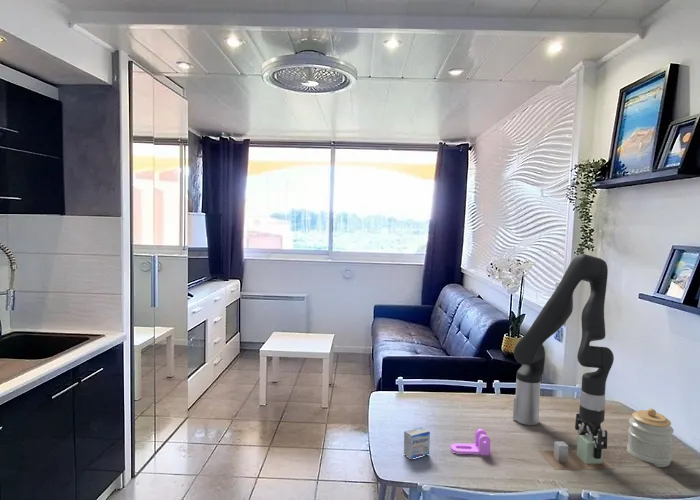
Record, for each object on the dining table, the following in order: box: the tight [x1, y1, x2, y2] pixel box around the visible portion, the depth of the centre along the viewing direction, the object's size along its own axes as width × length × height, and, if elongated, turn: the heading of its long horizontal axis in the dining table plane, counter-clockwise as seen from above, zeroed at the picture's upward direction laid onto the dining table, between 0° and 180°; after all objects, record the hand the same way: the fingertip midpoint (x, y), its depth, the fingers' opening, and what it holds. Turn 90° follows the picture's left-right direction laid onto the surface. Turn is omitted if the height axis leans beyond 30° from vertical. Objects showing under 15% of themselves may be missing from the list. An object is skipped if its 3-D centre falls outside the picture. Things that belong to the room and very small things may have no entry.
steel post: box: [553, 440, 570, 462], centre depth 154 cm, size 3×3×6 cm
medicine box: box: [403, 426, 431, 460], centre depth 158 cm, size 8×4×9 cm, turn 118°
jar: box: [626, 407, 675, 468], centre depth 159 cm, size 13×13×18 cm
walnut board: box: [537, 449, 615, 471], centre depth 155 cm, size 20×12×2 cm, turn 94°
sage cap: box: [576, 434, 604, 464], centre depth 155 cm, size 6×6×7 cm
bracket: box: [450, 428, 491, 456], centre depth 162 cm, size 13×6×7 cm, turn 90°
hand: (589, 451), depth 155 cm, fingers open, 8 cm apart
